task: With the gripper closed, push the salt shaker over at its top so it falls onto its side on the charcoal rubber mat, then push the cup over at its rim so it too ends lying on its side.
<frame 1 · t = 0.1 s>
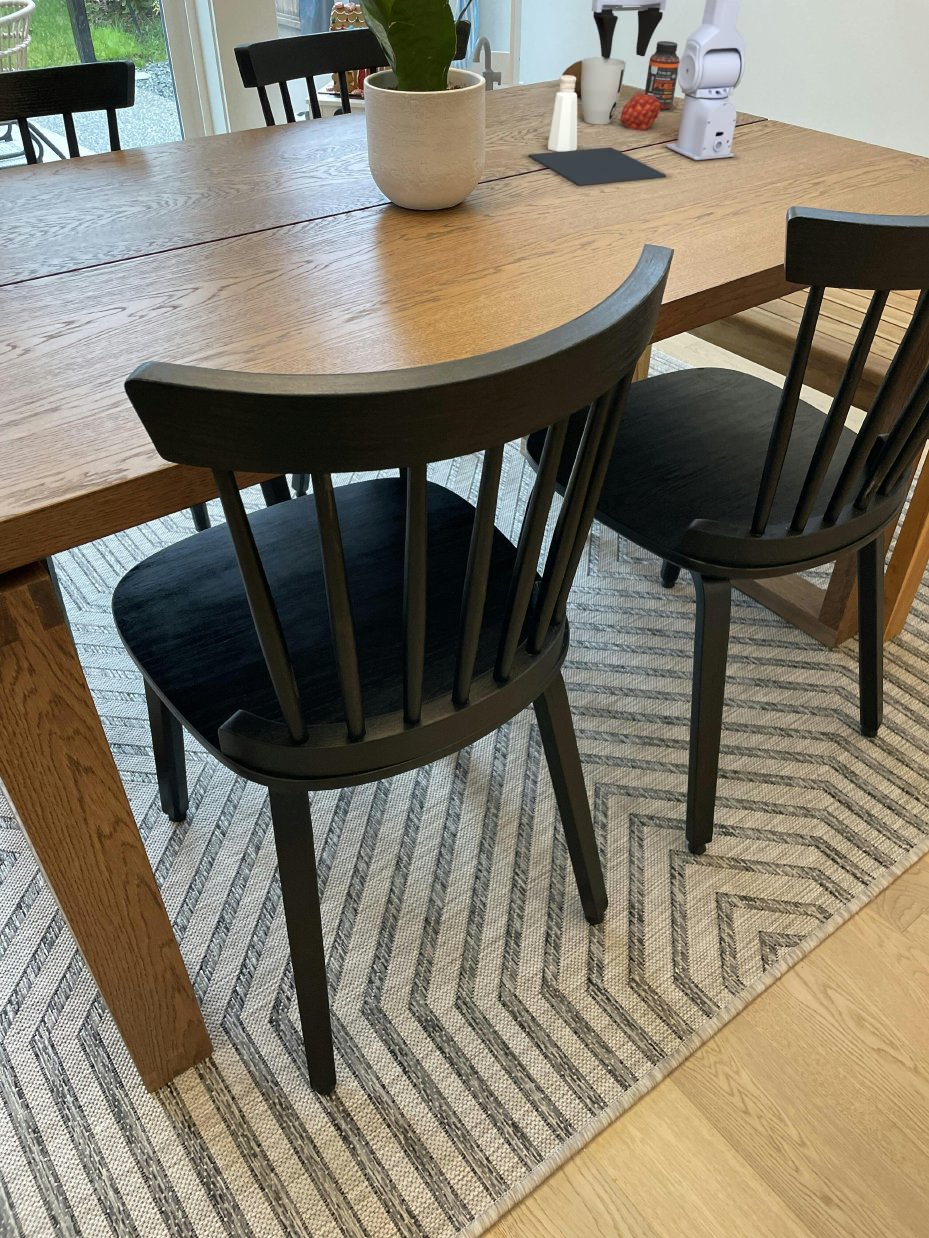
hand: (623, 56, 174), 10 cm above the table, tool pointing down, fingers open, 7 cm apart
supplement bottle: (657, 108, 187), on the table
potato: (586, 98, 193), on the table
cup: (596, 122, 177), on the table
decorative stone: (638, 129, 174), on the table
mat: (595, 166, 152), on the table
salt shaker: (561, 149, 161), on the table
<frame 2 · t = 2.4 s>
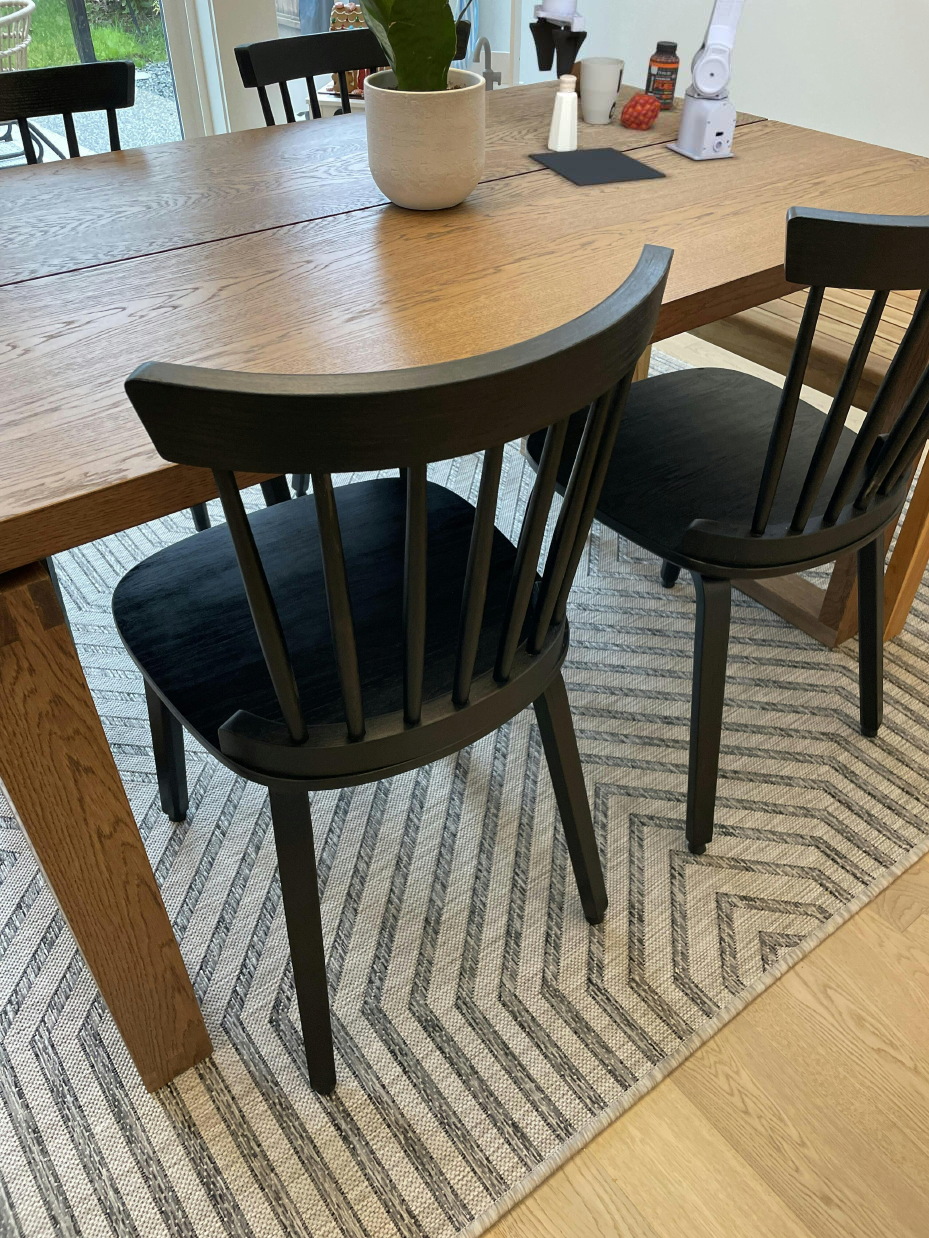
hand: (554, 74, 157), 10 cm above the table, tool pointing down, fingers open, 6 cm apart
salt shaker: (561, 149, 161), on the table, touching gripper
everything else where it was.
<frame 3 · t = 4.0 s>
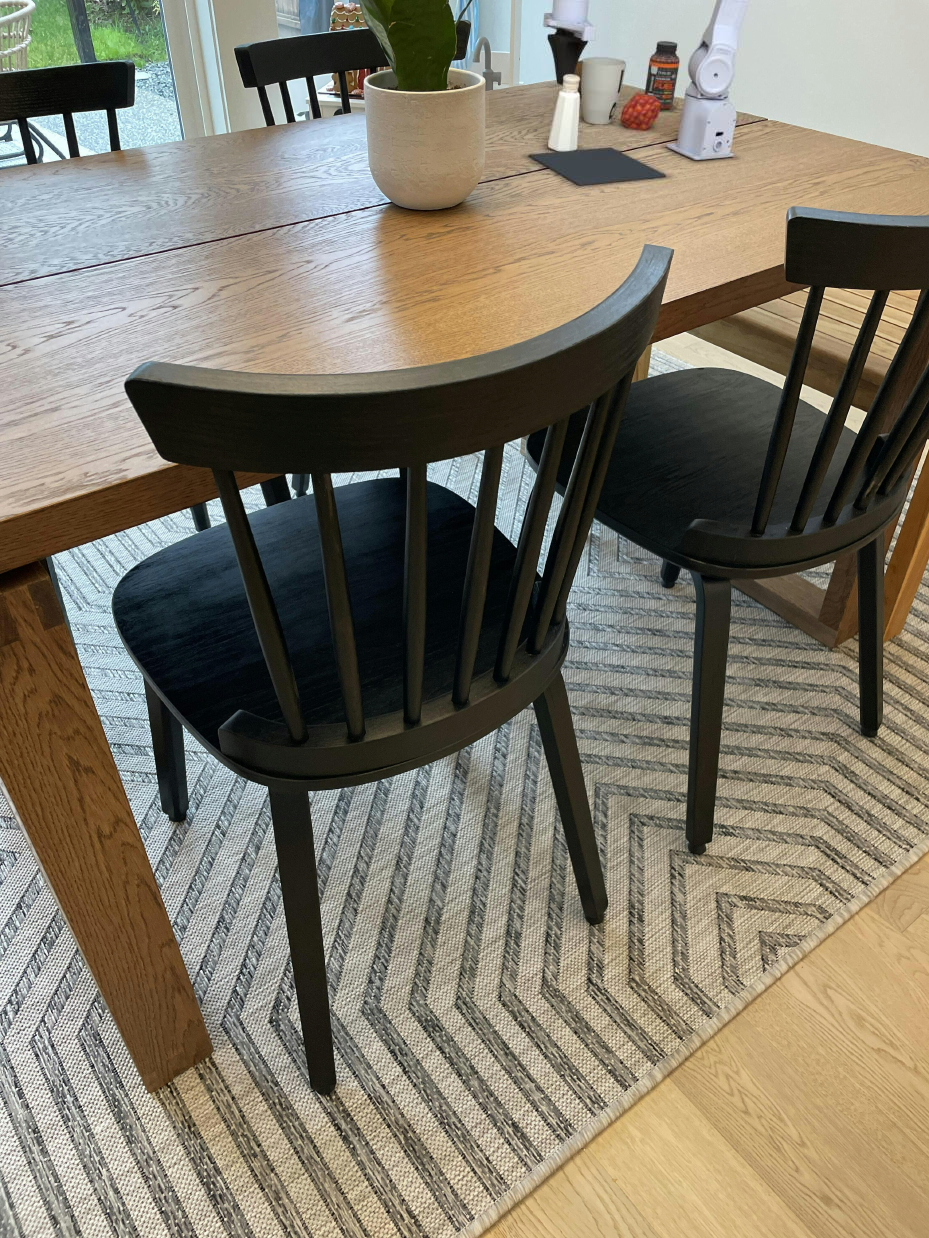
hand: (563, 84, 155), 10 cm above the table, tool pointing down, fingers closed
nothing on the table moved.
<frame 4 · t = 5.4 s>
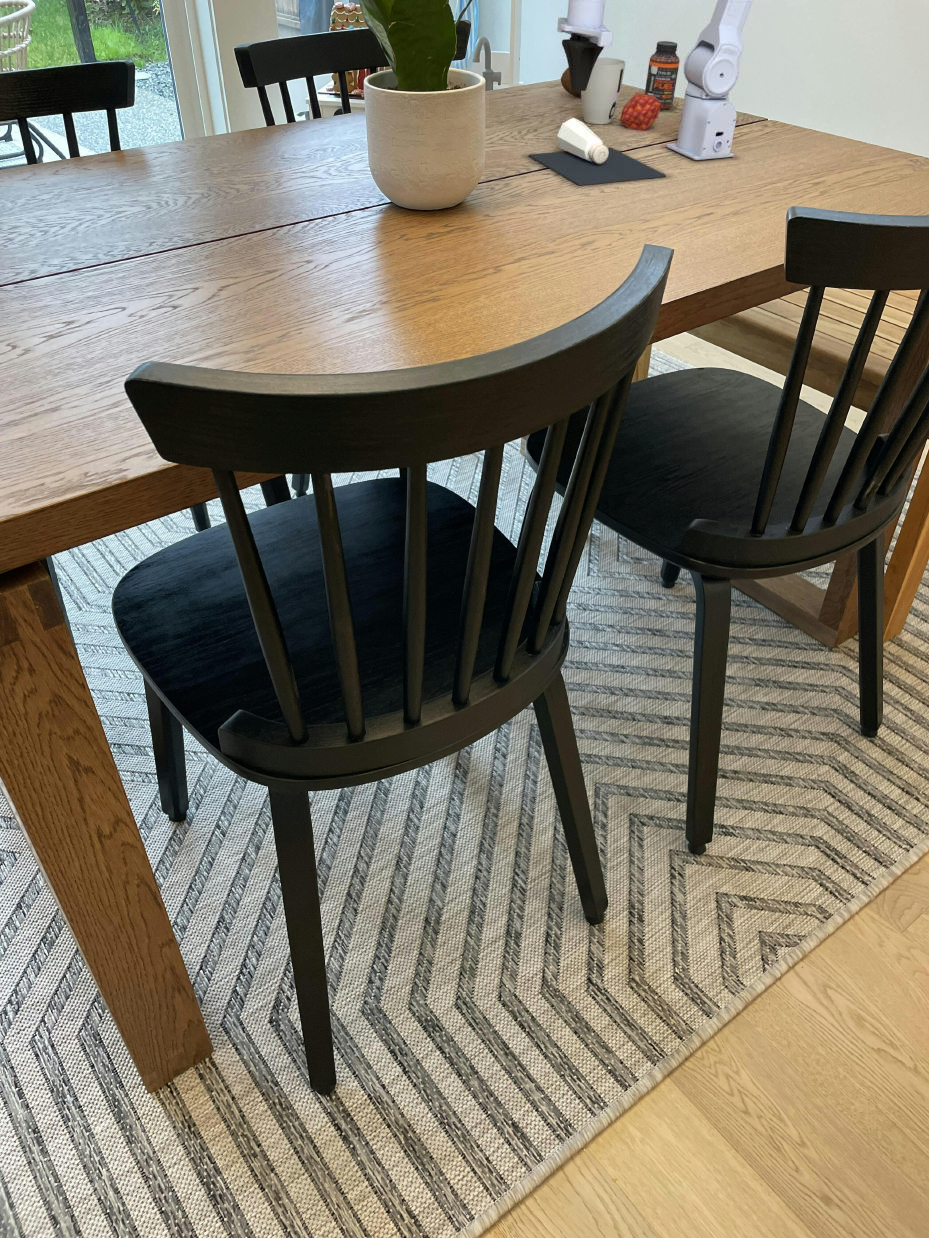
hand: (578, 90, 152), 10 cm above the table, tool pointing down, fingers closed
salt shaker: (570, 134, 157), point 3 cm above the table, touching mat
everything else where it was.
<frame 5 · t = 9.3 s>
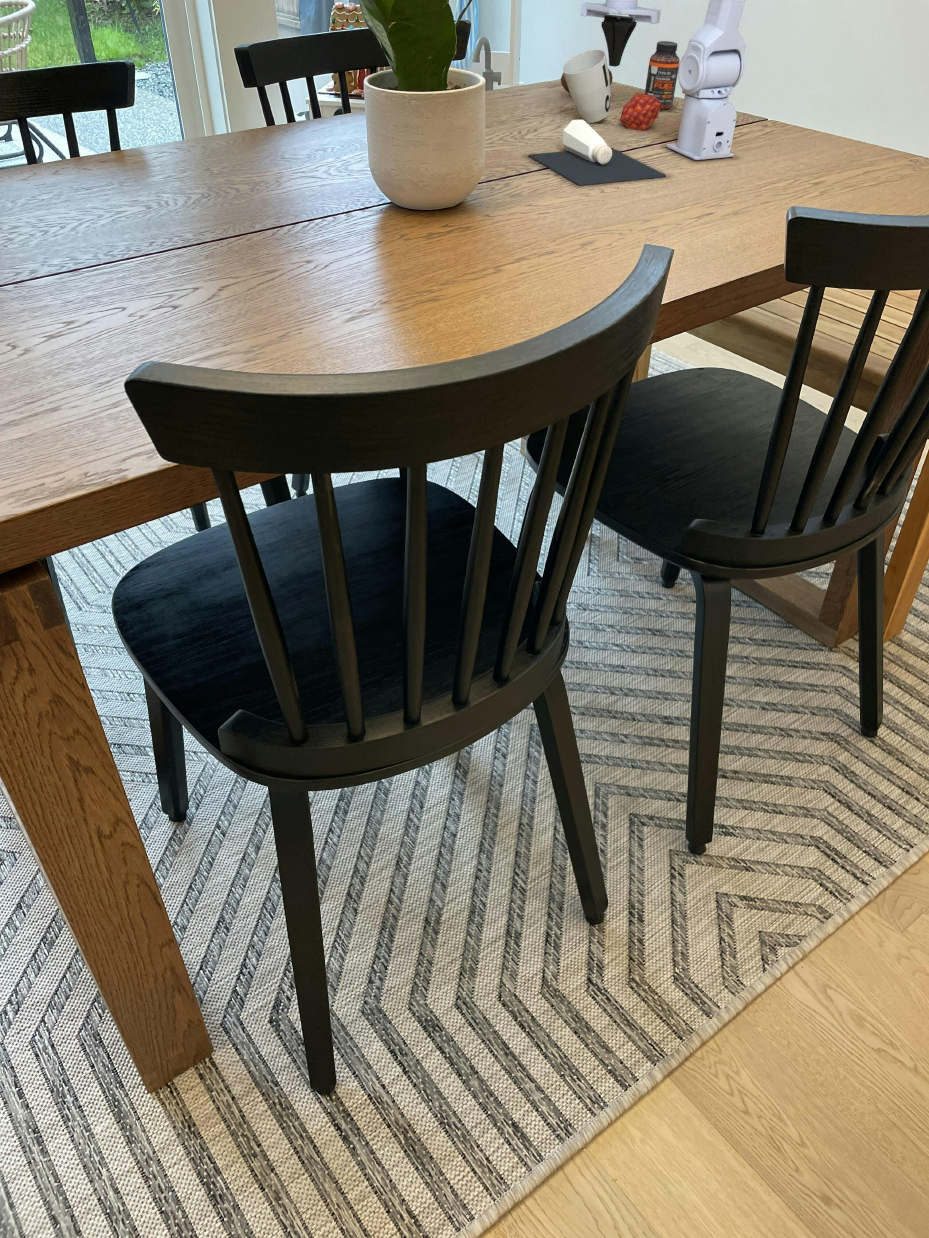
hand: (614, 65, 172), 9 cm above the table, tool pointing down, fingers closed
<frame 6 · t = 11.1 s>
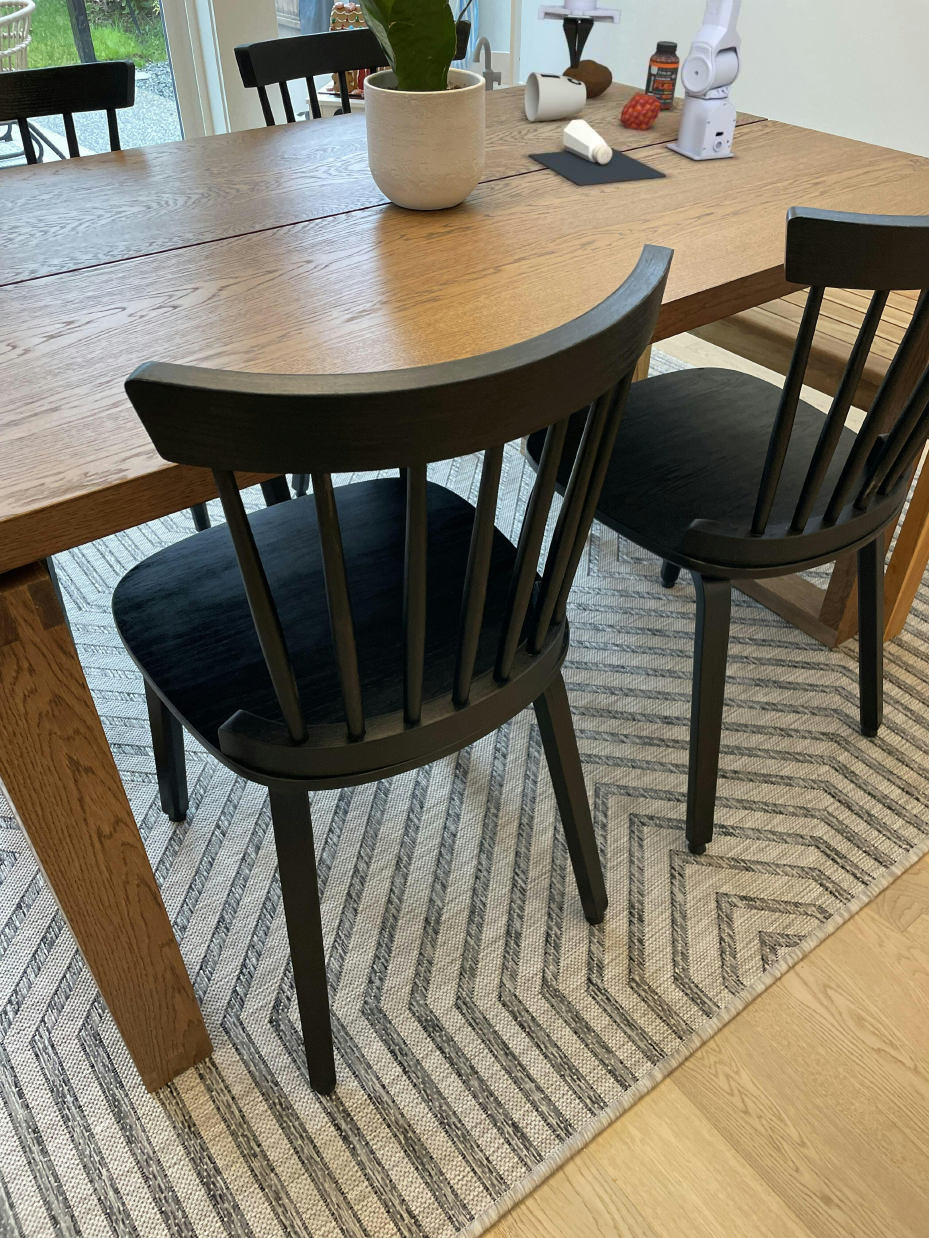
hand: (574, 67, 169), 9 cm above the table, tool pointing down, fingers closed
cup: (581, 97, 175), point 4 cm above the table
everything else where it was.
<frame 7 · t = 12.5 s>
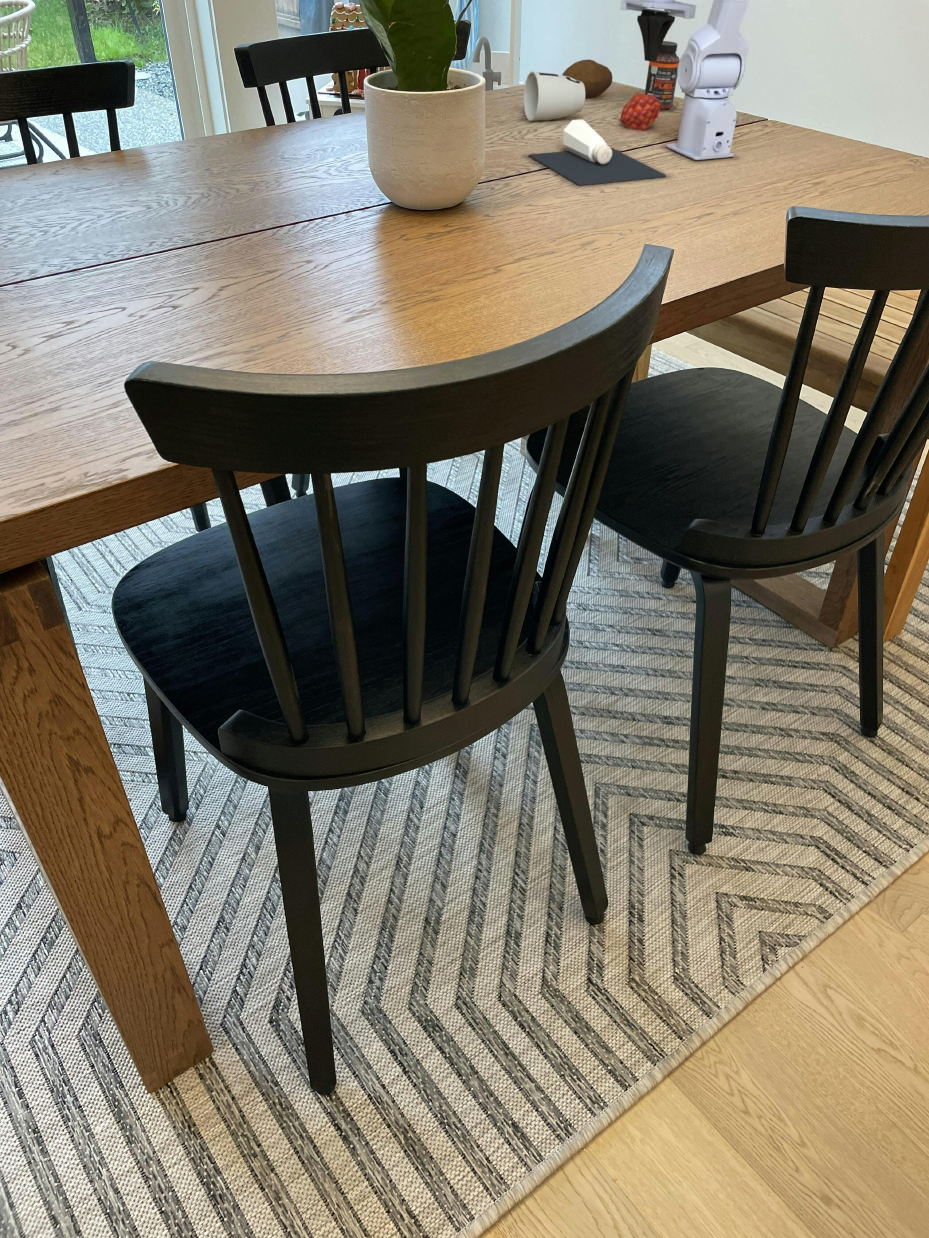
hand: (650, 60, 170), 10 cm above the table, tool pointing down, fingers closed
nothing on the table moved.
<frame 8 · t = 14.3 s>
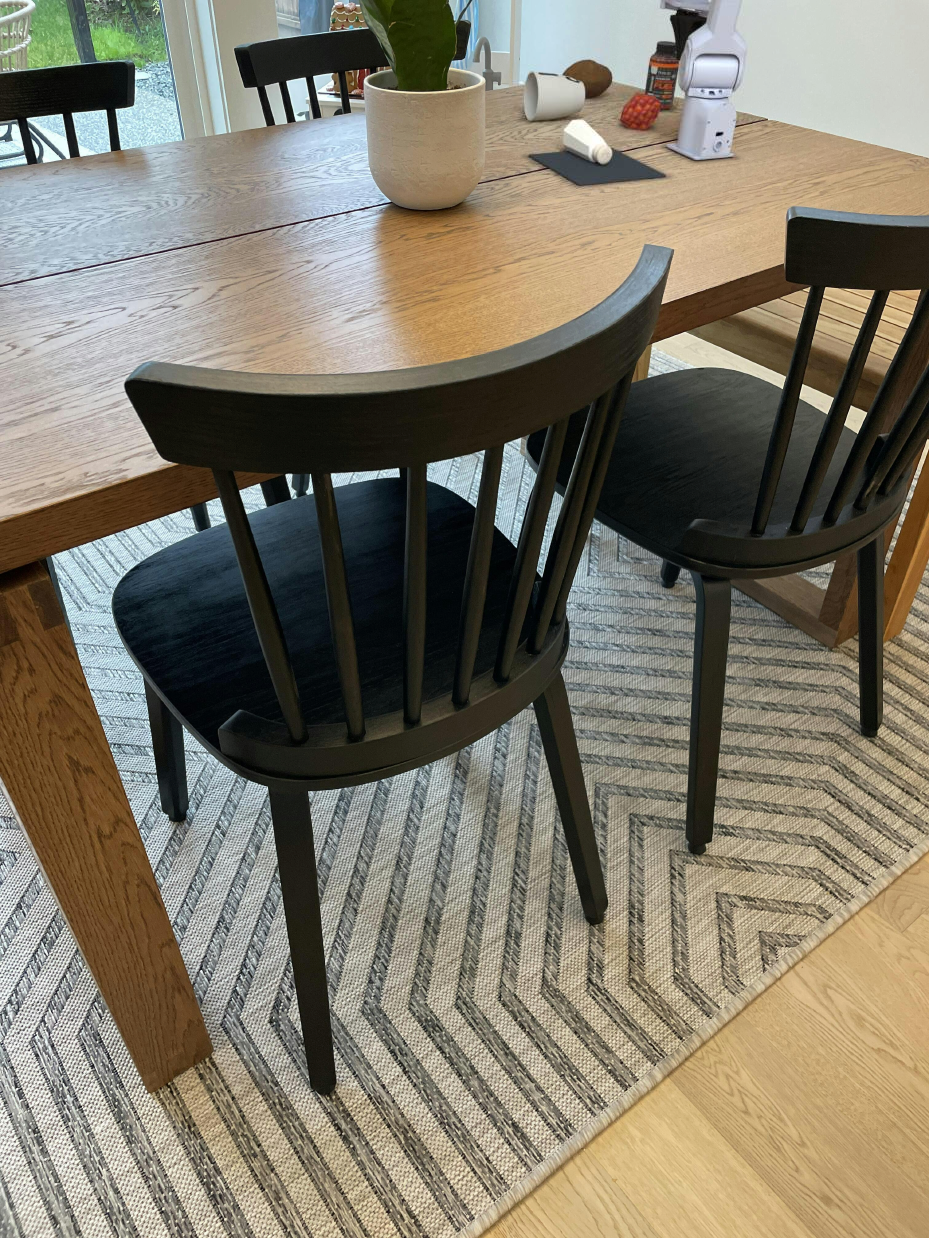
hand: (682, 60, 171), 10 cm above the table, tool pointing down, fingers closed
nothing on the table moved.
at the end: cup tilted 88°; salt shaker tilted 93°; salt shaker touching mat, table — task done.
